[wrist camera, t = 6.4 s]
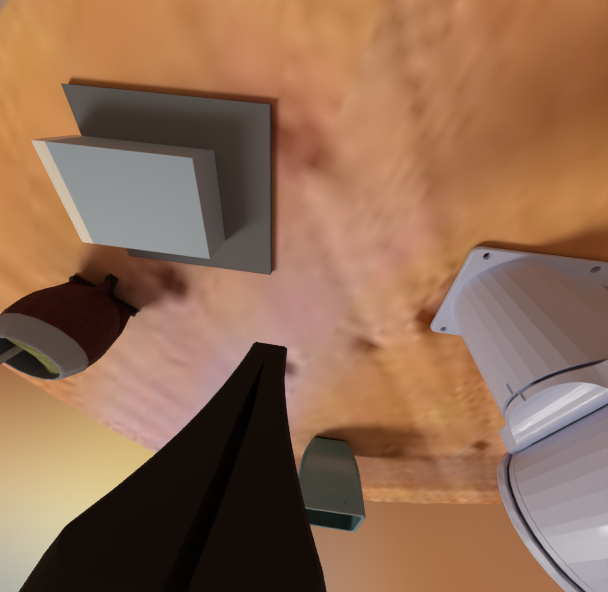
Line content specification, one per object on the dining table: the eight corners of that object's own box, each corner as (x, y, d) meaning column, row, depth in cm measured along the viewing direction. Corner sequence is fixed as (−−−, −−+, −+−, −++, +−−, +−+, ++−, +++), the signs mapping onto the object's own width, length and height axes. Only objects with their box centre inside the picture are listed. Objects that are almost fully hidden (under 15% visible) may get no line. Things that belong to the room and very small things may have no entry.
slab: (192, 158, 13) (30, 139, 13) (209, 259, 17) (82, 242, 17) (213, 150, 15) (74, 134, 16) (225, 241, 19) (112, 226, 19)
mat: (271, 104, 14) (269, 104, 14) (271, 272, 21) (270, 274, 20) (67, 83, 14) (61, 83, 14) (132, 253, 21) (129, 255, 21)
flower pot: (353, 460, 41) (355, 534, 34) (300, 452, 42) (291, 523, 35) (361, 436, 36) (366, 517, 29) (300, 428, 37) (291, 505, 30)
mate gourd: (151, 294, 24) (-37, 480, 12) (130, 334, 28) (-26, 501, 16) (69, 245, 22) (-264, 416, 10) (59, 297, 26) (-183, 460, 14)
